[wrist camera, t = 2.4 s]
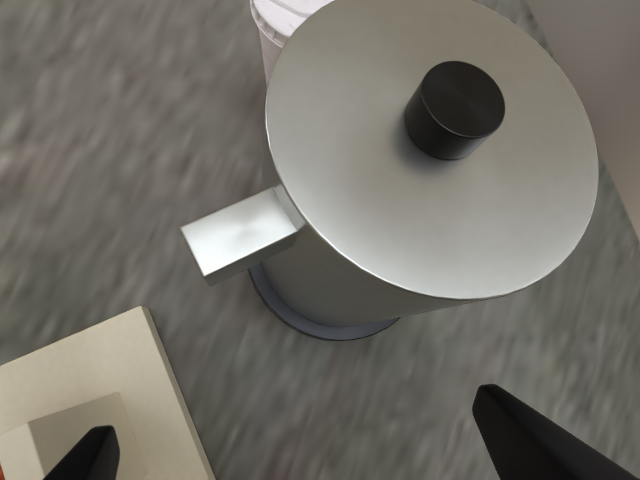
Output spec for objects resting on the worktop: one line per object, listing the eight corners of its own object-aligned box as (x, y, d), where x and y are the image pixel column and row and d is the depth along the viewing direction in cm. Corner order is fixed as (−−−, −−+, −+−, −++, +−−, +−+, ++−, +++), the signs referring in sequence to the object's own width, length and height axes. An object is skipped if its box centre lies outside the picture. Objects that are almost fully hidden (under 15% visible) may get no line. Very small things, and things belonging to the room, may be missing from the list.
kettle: (271, 395, 22) (309, 510, 7) (186, 223, 24) (62, 2, 9) (472, 272, 27) (779, 170, 11) (387, 136, 29) (546, -115, 13)
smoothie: (241, 80, 28) (228, -165, 14) (321, 67, 29) (376, -165, 16) (265, 155, 26) (276, -38, 13) (348, 137, 28) (432, -51, 15)
